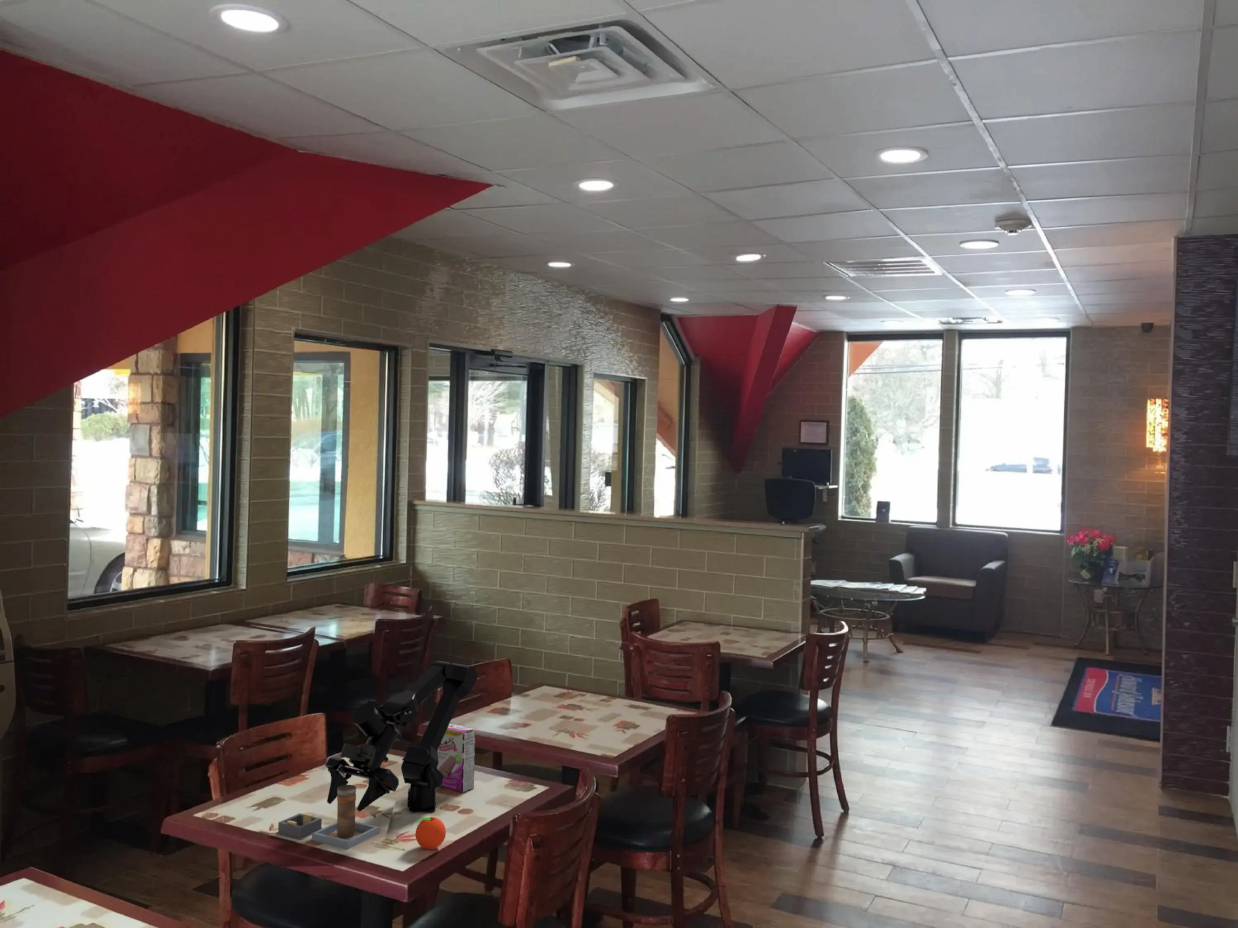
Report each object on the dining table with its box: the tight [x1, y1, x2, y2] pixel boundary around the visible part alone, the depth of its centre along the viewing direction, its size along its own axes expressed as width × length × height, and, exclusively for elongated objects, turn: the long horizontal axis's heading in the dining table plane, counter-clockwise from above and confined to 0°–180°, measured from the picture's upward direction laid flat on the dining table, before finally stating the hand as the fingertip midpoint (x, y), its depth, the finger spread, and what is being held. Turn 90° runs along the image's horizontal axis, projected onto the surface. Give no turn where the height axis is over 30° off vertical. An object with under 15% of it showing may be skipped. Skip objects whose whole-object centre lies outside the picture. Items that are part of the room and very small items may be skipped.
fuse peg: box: [336, 784, 357, 840], centre depth 233 cm, size 4×4×12 cm
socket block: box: [274, 813, 323, 841], centre depth 235 cm, size 8×8×4 cm
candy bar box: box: [437, 722, 476, 793], centre depth 273 cm, size 11×5×16 cm, turn 58°
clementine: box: [414, 816, 447, 850], centre depth 231 cm, size 8×7×7 cm
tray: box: [311, 820, 380, 850], centre depth 233 cm, size 11×11×3 cm
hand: (343, 806), depth 232 cm, fingers open, 9 cm apart
